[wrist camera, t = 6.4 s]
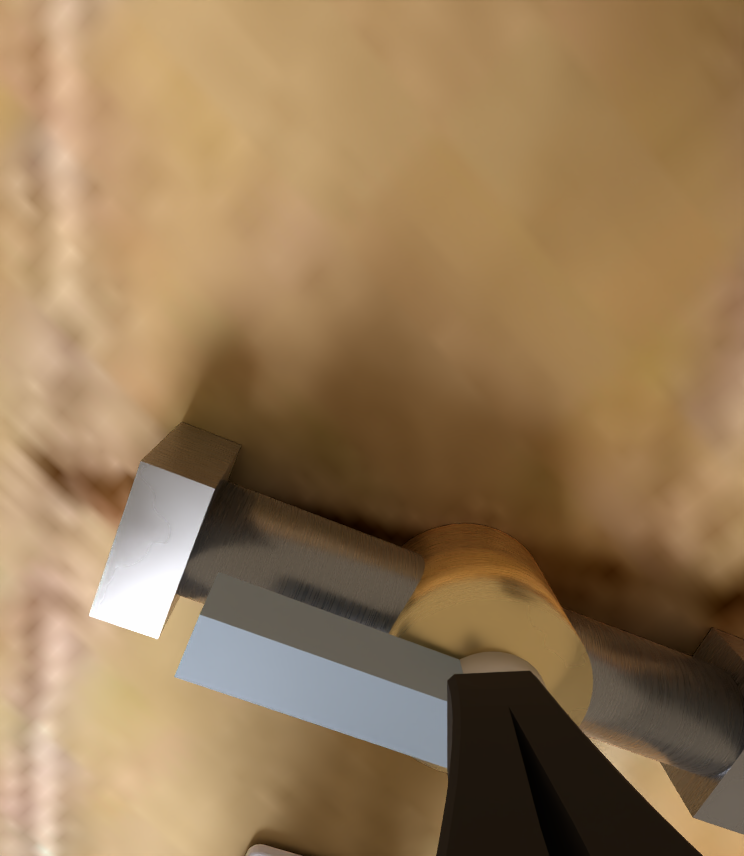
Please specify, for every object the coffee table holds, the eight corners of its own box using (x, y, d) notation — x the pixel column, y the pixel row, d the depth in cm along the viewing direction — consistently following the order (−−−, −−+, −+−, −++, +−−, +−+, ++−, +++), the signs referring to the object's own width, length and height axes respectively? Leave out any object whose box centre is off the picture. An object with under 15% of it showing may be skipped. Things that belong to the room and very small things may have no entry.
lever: (567, 674, 16) (593, 726, 14) (512, 761, 17) (530, 819, 15) (227, 549, 14) (210, 588, 13) (186, 649, 15) (164, 700, 14)
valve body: (765, 634, 21) (868, 731, 17) (678, 755, 23) (753, 872, 19) (186, 407, 18) (133, 455, 14) (131, 564, 20) (69, 650, 16)
